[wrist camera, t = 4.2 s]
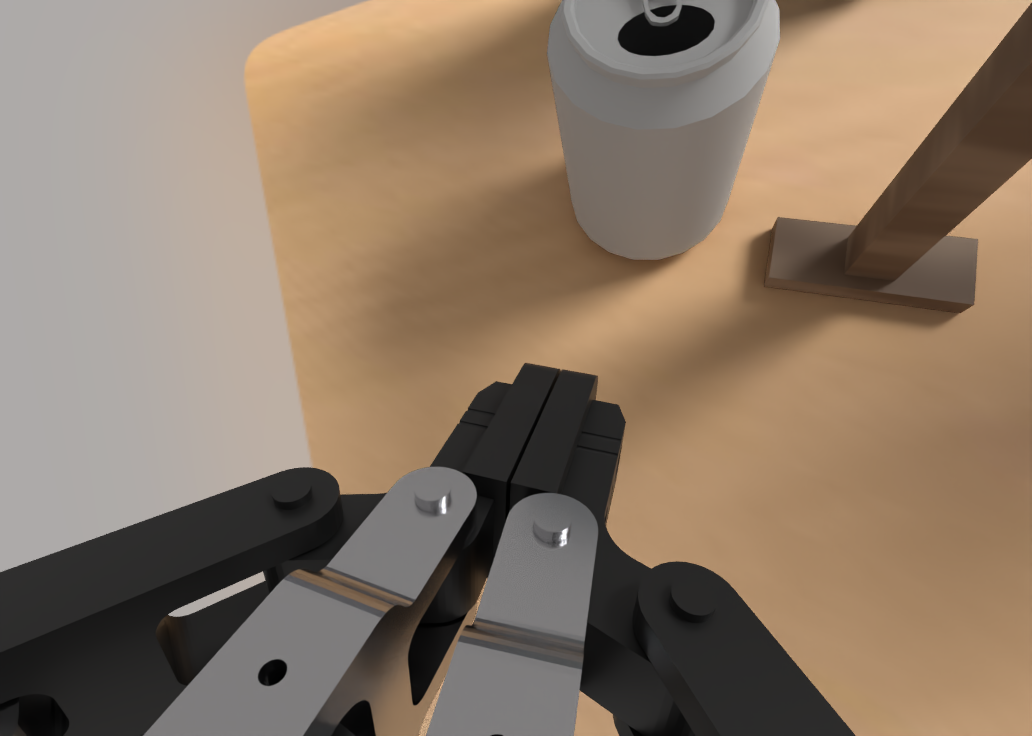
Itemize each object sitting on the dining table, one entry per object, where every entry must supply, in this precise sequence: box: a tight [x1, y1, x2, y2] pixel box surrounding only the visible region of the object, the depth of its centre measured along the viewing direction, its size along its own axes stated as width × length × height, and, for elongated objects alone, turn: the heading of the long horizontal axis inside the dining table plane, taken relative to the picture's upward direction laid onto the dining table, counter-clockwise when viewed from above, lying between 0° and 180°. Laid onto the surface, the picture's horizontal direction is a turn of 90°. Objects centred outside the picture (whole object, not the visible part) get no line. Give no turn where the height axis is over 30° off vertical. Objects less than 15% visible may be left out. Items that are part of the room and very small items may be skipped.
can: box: [547, 0, 780, 260], centre depth 23 cm, size 8×8×12 cm
